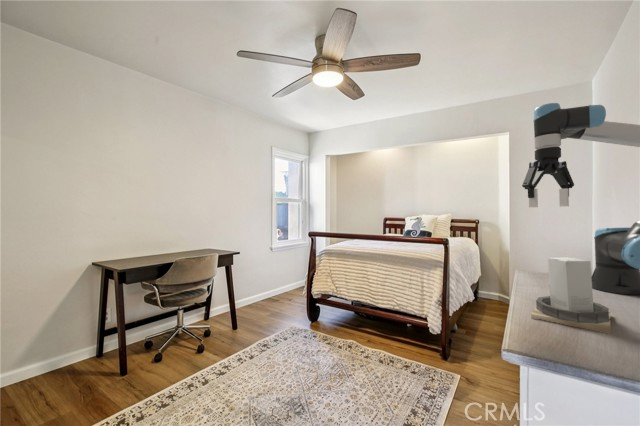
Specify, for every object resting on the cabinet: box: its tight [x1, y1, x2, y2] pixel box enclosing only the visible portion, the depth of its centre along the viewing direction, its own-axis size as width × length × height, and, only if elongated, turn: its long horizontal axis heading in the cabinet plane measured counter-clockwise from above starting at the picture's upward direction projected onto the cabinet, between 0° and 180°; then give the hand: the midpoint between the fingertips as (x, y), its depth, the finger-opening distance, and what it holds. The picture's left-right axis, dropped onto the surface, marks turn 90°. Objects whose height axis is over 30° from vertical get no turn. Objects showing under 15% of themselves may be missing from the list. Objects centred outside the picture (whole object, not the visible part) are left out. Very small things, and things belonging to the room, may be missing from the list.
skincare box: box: [547, 256, 594, 312], centre depth 83 cm, size 8×7×16 cm
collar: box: [530, 295, 612, 334], centre depth 83 cm, size 16×16×4 cm
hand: (549, 207), depth 105 cm, fingers open, 13 cm apart
